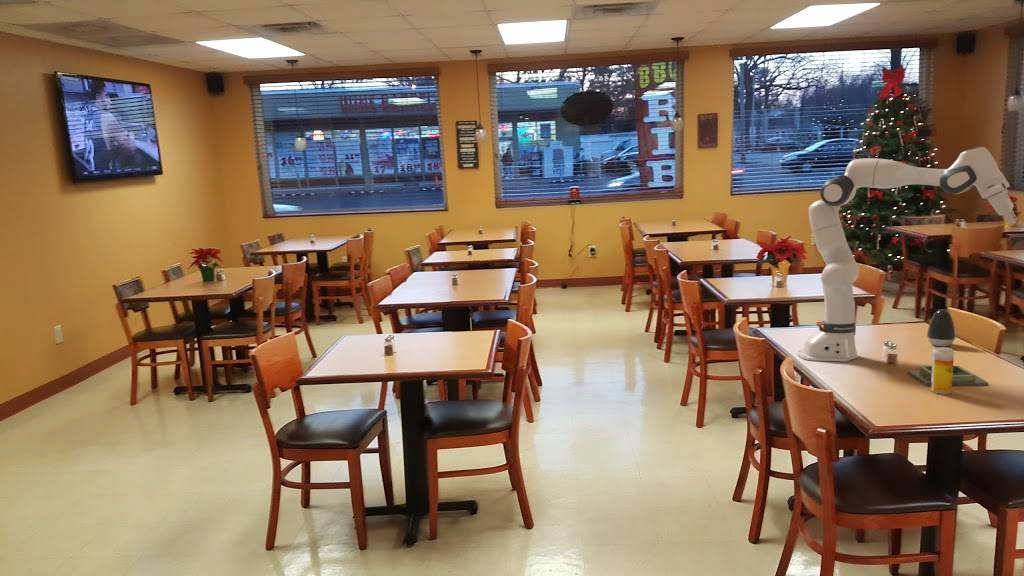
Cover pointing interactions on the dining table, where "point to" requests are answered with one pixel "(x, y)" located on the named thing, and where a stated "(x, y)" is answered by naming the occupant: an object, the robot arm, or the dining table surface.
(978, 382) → the green and grey tray
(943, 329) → the dark grey egg shape
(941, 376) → the beer can
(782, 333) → the dining table surface
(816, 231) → the robot arm
